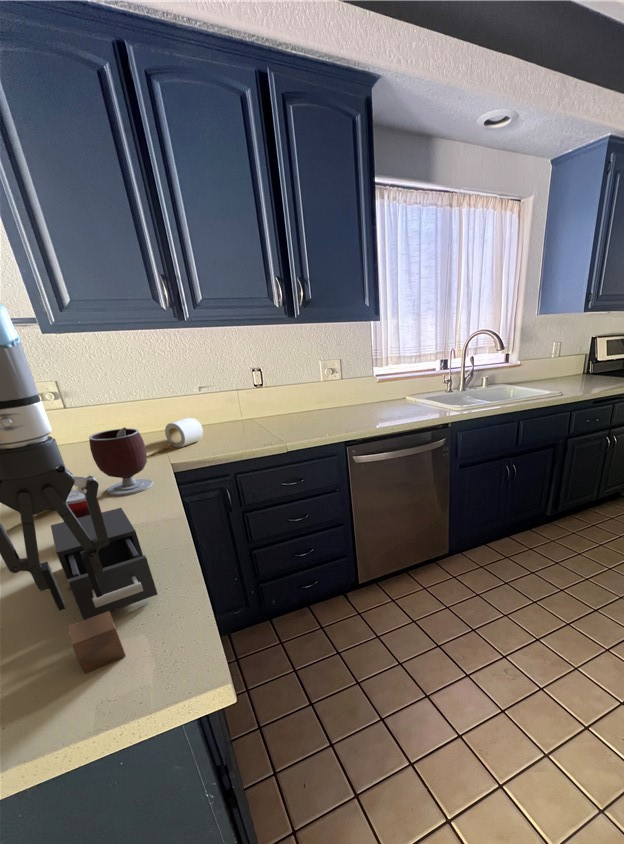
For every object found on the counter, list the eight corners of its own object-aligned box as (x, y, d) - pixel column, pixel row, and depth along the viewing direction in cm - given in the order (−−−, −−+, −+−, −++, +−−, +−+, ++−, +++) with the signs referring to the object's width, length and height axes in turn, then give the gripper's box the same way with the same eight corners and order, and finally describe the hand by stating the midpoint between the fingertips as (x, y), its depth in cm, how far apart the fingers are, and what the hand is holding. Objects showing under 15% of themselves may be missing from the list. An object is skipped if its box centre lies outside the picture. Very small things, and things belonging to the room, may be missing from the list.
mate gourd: (97, 490, 131) (75, 426, 123) (142, 477, 141) (125, 416, 133) (119, 501, 123) (97, 433, 114) (166, 486, 133) (149, 422, 124)
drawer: (164, 606, 75) (152, 568, 72) (87, 636, 69) (71, 595, 65) (141, 565, 88) (130, 531, 85) (75, 586, 82) (60, 550, 78)
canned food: (95, 527, 107) (81, 486, 103) (116, 533, 104) (102, 491, 99) (64, 541, 101) (47, 498, 97) (84, 547, 98) (68, 503, 93)
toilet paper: (186, 440, 183) (181, 416, 179) (205, 441, 180) (200, 418, 175) (168, 446, 175) (162, 422, 170) (187, 448, 171) (181, 423, 167)
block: (84, 674, 63) (71, 645, 60) (79, 653, 66) (67, 625, 64) (126, 656, 66) (115, 628, 63) (119, 637, 70) (109, 610, 67)
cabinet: (148, 572, 87) (135, 530, 83) (74, 597, 80) (56, 552, 76) (133, 546, 98) (121, 507, 94) (67, 566, 91) (50, 525, 87)
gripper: (-86, 463, 44) (5, 639, 54) (101, 433, 54) (149, 587, 64) (-76, 448, 50) (5, 610, 60) (92, 423, 59) (139, 567, 69)
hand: (80, 598), depth 62 cm, fingers open, 4 cm apart
